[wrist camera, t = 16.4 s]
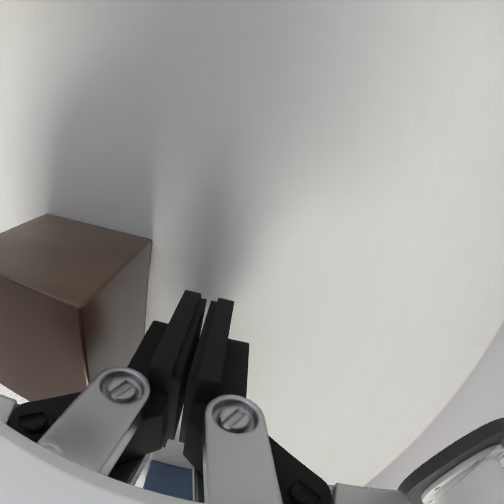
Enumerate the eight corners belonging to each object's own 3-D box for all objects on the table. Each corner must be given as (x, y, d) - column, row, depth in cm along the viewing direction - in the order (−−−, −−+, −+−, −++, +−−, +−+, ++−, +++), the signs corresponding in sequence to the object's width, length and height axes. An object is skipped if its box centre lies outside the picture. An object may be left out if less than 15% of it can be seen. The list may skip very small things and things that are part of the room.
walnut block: (153, 239, 10) (80, 307, 5) (143, 348, 12) (99, 436, 7) (46, 212, 10) (-43, 252, 5) (51, 315, 12) (-10, 377, 7)
